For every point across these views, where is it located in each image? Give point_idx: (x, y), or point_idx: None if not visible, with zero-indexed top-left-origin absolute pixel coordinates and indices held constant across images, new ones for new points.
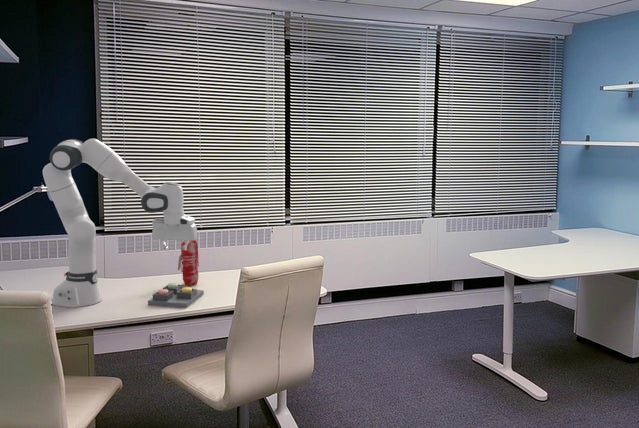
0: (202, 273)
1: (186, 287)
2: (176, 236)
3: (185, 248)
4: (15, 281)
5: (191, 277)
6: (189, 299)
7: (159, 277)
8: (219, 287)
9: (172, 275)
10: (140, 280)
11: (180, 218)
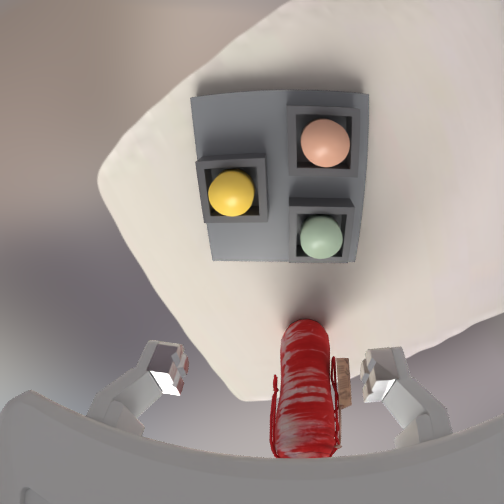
0: None
1: (240, 211)
2: (188, 498)
3: (144, 352)
4: None
5: (294, 337)
6: (204, 146)
7: None
8: (207, 315)
9: None
10: (444, 324)
11: None
